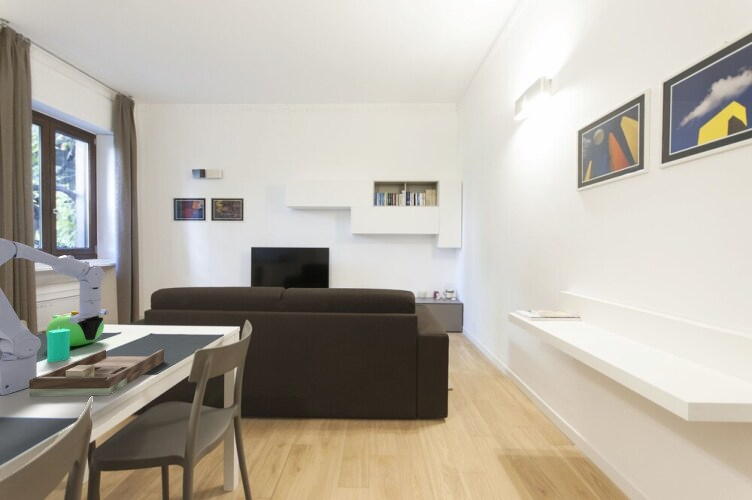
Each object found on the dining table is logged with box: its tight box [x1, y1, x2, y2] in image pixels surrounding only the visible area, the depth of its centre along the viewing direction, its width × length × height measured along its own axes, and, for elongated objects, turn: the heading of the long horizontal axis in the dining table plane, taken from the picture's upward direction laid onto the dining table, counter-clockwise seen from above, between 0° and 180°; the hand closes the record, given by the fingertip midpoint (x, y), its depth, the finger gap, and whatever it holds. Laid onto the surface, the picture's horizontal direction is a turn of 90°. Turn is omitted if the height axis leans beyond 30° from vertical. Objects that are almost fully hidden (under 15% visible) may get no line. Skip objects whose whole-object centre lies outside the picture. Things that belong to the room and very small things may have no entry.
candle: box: [46, 326, 71, 363], centre depth 126 cm, size 6×6×12 cm
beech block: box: [66, 365, 94, 377], centre depth 100 cm, size 4×4×4 cm
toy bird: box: [45, 310, 105, 348], centre depth 143 cm, size 18×17×15 cm
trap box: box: [28, 348, 165, 397], centre depth 110 cm, size 28×21×5 cm
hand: (90, 339), depth 118 cm, fingers closed
